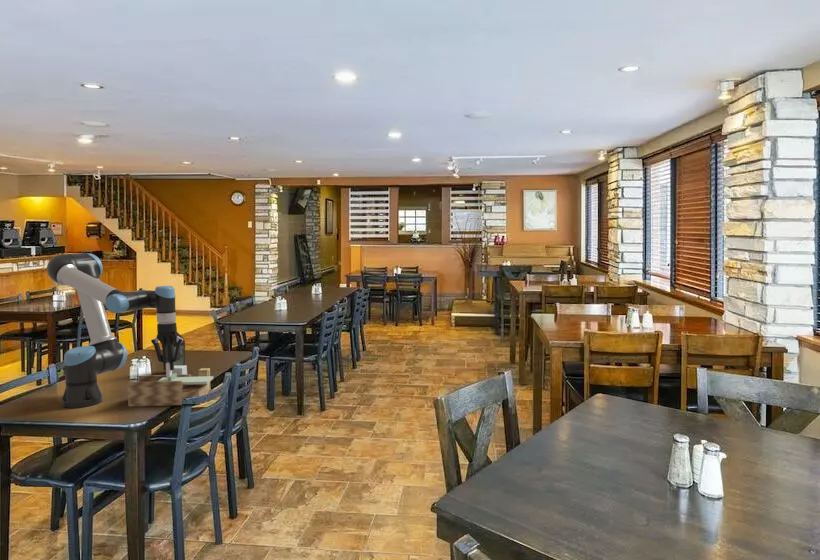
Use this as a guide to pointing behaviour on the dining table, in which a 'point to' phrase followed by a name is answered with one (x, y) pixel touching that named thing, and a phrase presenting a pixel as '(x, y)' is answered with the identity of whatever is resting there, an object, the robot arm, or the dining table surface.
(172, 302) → the robot arm
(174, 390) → the toolbox
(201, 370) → the beige wooden block
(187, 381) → the lid
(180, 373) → the product box
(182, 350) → the olive oil
